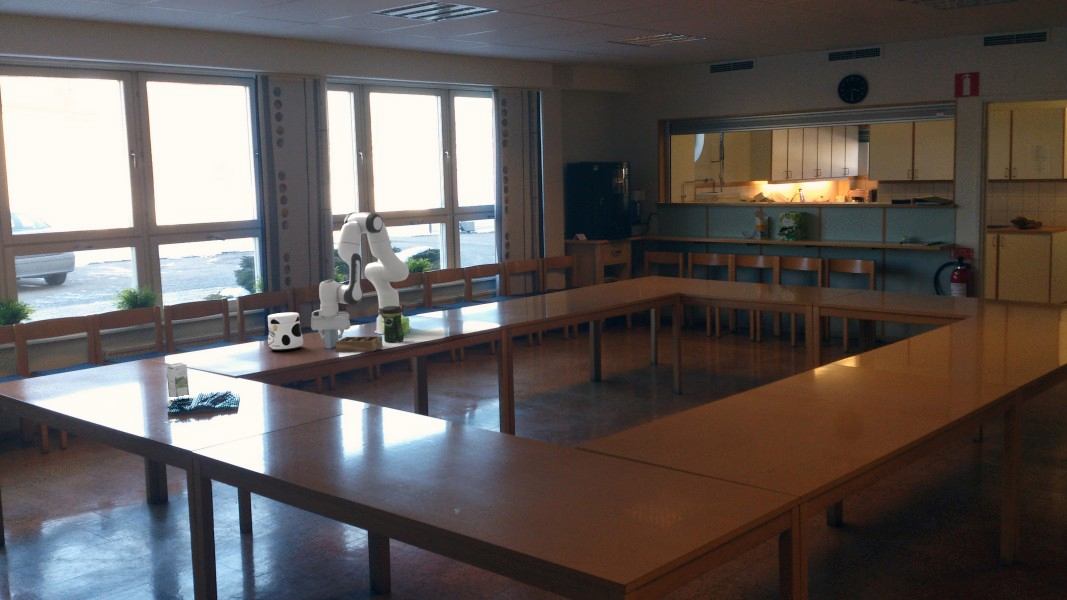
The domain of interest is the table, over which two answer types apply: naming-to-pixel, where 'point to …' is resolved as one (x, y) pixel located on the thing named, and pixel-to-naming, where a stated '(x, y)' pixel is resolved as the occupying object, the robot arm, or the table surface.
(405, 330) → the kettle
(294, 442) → the table surface
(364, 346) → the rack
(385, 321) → the coffee jar
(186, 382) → the syrup box
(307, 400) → the table surface
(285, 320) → the milk container
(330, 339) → the light blue thin block
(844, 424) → the table surface
